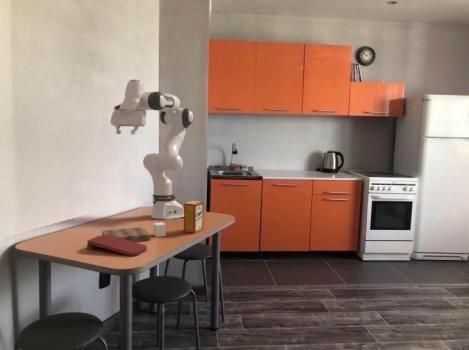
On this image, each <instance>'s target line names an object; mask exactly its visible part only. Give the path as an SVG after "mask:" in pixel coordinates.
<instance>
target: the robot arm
mask: <svg viewBox="0 0 469 350" xmlns="http://www.w3.org/2000/svg"><path fill="white" fill-rule="evenodd" d="M180 106H181V101H180V98H179V97H178V96H176V95H174V94H171V93H163V92H161V91H145V90H144V82H143V81H141V80H140V79H130V80H129V81H128V82H127V84H126V87H125V91H124V99H123V101H122V103H120V104H117V105H115V106H113V112H112V113H111V118H110V124H111V125H112V126H114V127H115V130H116V132H115V133H116V134H117V135H121V133H122V131H121V130H120V129H121V127H133V129H132V130H130V131H131V132H130V134H131V135H134V136H135V135H136V132H137V131H138V130H139V128H140V127H141V128H142V127H144V126H146V122H147V121H146V120H147V111H158V112H160V113H159V120H160V121H161V123H162V124H164V125H170V126H171V128H170V129H169V130H168V132H167V134H166V135H165V138H164V140H163V142H162V144H161V147H162V151H164V153H156V152H154V153H149V154H146V155H145V156H144V157H143V160H142V164H143V167H144V168H145V170H147V171H148V172H149V174H150V176H151V179H152V185H153V186H152V187H153V194H152V203H153V204H152V211H151V215H150V218H152V219H157V220H165V221H166V220H167V221H169V220H176V219H181V217H184V205H182V204H180V203H179V202H178V201H177V200H176V199H178V195H176V194H173V192H172V191H173V185H172V184H173V183H172V180H171V179H170V178H169V177H167V176H166V174H165V173H177V172H180V171H181V170H182V169H183V166H184V160H183V159H182V156H180V155H179V152H180V149H181V146H182V144H183V142H184V140H185V136H186V132H187V131H186V129H188V128H189V127H190V126H191V124H193V121H194V115H195V114H194V112H193V110H192V109H190V108H186V107H185V108H183V107H180ZM175 218H176V219H175Z"/></svg>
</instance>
